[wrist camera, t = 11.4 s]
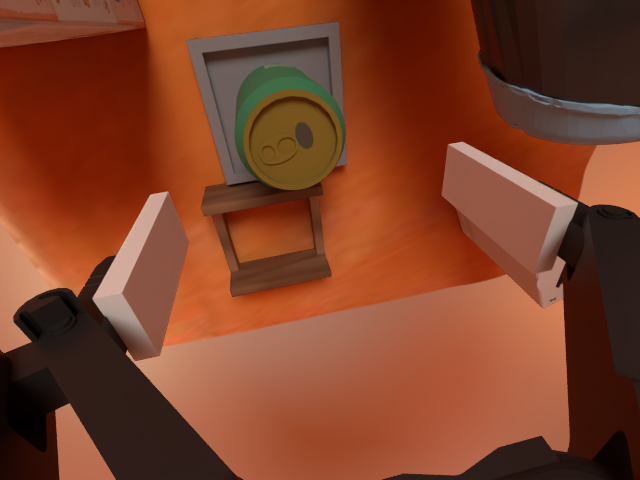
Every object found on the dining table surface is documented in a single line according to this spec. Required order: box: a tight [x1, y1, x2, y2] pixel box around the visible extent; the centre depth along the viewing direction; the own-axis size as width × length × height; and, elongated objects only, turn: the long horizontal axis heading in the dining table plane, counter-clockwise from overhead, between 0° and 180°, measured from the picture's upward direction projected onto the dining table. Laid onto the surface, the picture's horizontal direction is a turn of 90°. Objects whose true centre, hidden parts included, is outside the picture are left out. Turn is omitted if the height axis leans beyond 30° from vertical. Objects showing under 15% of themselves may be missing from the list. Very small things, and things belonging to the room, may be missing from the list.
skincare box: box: [456, 209, 566, 308], centre depth 38 cm, size 8×7×16 cm
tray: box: [186, 22, 347, 185], centre depth 32 cm, size 13×13×2 cm
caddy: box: [201, 180, 331, 297], centre depth 38 cm, size 12×12×5 cm
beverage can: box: [234, 63, 346, 190], centre depth 27 cm, size 8×8×12 cm
